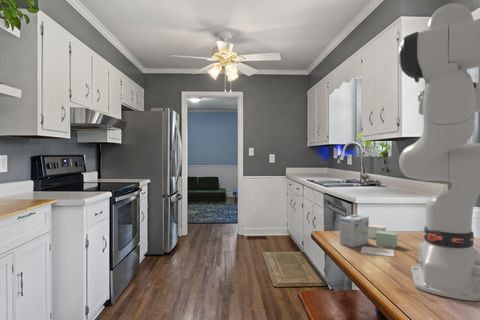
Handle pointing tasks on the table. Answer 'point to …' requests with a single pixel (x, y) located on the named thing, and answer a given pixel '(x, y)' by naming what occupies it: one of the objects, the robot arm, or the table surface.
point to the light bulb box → (354, 230)
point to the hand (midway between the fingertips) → (449, 125)
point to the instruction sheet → (377, 251)
